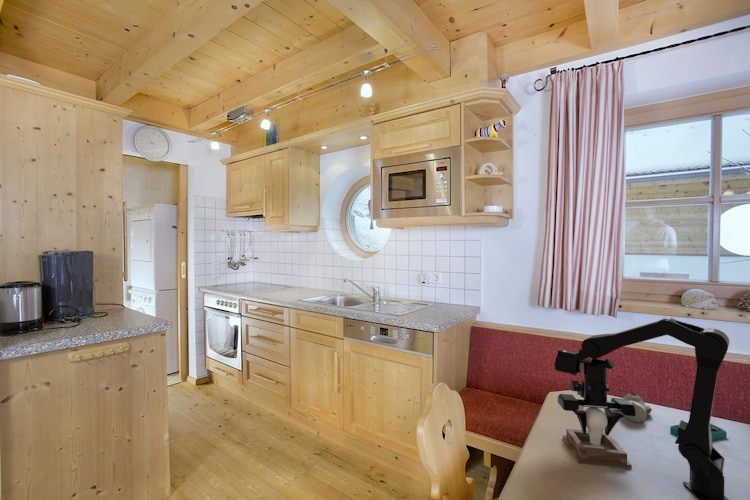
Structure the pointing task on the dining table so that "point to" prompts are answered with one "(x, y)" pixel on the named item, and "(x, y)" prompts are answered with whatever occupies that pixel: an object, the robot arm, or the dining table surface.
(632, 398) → the ceramic sculpture
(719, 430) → the digital multimeter
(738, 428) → the dining table surface
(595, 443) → the lightbulb
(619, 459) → the bulb holder
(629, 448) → the dining table surface
